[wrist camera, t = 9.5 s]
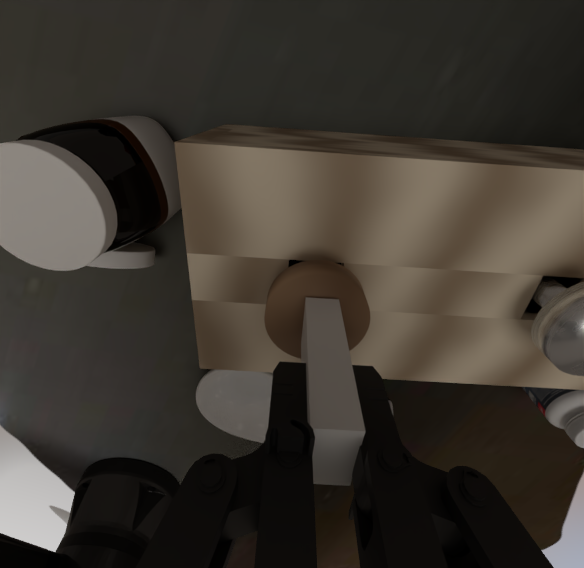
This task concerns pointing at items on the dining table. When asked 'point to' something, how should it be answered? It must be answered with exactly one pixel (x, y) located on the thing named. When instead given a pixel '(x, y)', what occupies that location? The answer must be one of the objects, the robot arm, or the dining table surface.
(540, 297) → the grey rounded part
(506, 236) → the stand
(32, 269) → the dining table surface
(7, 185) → the spread jar
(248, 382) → the spoon rest
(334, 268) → the walnut plunger
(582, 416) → the pill bottle
